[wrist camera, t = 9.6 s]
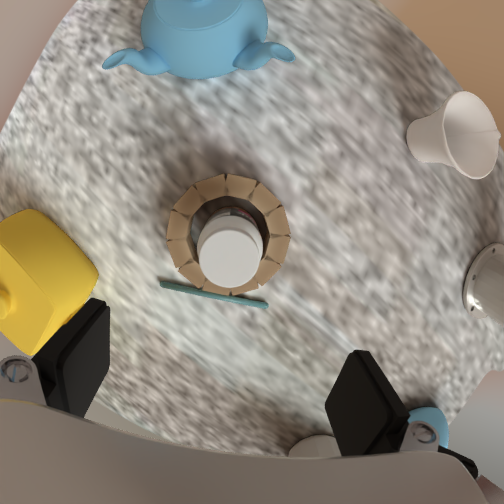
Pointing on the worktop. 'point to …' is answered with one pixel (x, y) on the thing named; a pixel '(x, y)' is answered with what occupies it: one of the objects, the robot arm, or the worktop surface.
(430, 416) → the sugar bowl
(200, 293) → the green stick
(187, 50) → the teapot
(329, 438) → the jar
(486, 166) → the cup
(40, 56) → the worktop surface
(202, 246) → the pill bottle
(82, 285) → the teapot
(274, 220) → the segmented tan ring
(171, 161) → the worktop surface
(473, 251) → the worktop surface
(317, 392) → the worktop surface
